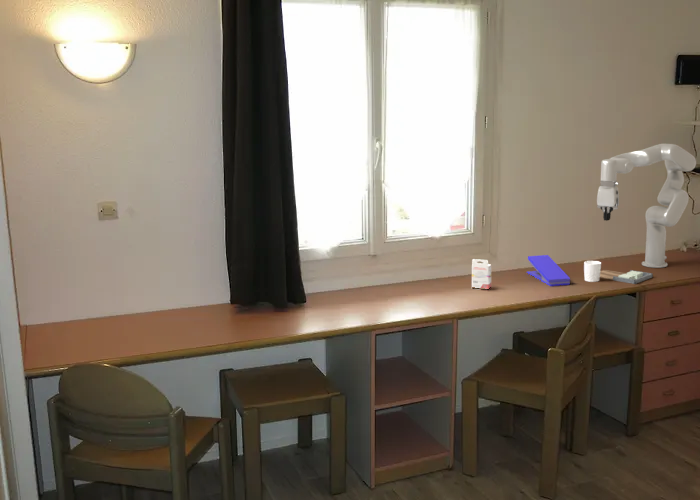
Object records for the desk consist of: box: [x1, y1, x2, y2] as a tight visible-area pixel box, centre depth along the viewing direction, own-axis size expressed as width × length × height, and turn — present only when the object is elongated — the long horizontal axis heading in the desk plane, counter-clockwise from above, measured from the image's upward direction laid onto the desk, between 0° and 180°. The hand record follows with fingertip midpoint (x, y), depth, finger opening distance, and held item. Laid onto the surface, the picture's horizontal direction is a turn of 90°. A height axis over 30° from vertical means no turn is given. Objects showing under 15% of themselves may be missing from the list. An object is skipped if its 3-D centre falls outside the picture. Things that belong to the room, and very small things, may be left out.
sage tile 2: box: [626, 270, 643, 279], centre depth 356 cm, size 6×6×3 cm
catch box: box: [612, 269, 654, 285], centre depth 353 cm, size 18×11×3 cm, turn 132°
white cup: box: [583, 260, 602, 283], centre depth 352 cm, size 8×8×10 cm
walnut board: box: [600, 269, 628, 281], centre depth 362 cm, size 16×14×1 cm
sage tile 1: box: [618, 274, 635, 280], centre depth 350 cm, size 6×6×3 cm
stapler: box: [526, 254, 571, 287], centre depth 361 cm, size 12×28×10 cm, turn 11°
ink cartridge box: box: [471, 258, 492, 290], centre depth 347 cm, size 9×5×15 cm, turn 62°
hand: (606, 220), depth 367 cm, fingers closed
